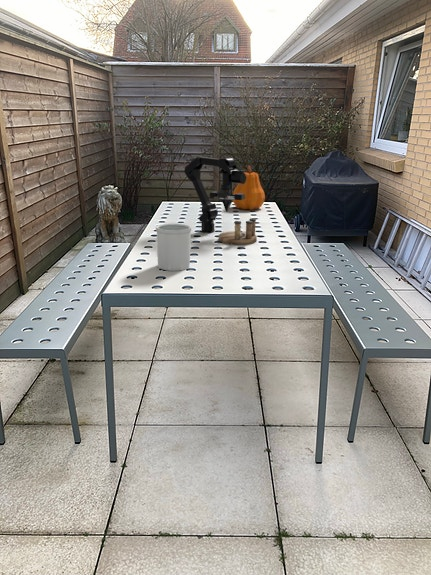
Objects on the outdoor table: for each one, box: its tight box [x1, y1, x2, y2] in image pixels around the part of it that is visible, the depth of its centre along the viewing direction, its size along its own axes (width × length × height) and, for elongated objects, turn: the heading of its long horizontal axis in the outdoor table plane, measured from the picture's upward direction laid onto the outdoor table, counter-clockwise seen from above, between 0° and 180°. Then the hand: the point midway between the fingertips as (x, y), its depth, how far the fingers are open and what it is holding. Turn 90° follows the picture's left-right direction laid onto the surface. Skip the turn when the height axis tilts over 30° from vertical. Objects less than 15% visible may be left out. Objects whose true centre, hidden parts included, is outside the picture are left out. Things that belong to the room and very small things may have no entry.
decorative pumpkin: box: [232, 164, 266, 211], centre depth 332 cm, size 24×24×30 cm
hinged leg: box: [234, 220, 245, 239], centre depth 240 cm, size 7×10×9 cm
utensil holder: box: [155, 222, 192, 272], centre depth 198 cm, size 15×15×18 cm
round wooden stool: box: [218, 218, 258, 246], centre depth 245 cm, size 20×20×11 cm
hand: (226, 211), depth 253 cm, fingers closed
